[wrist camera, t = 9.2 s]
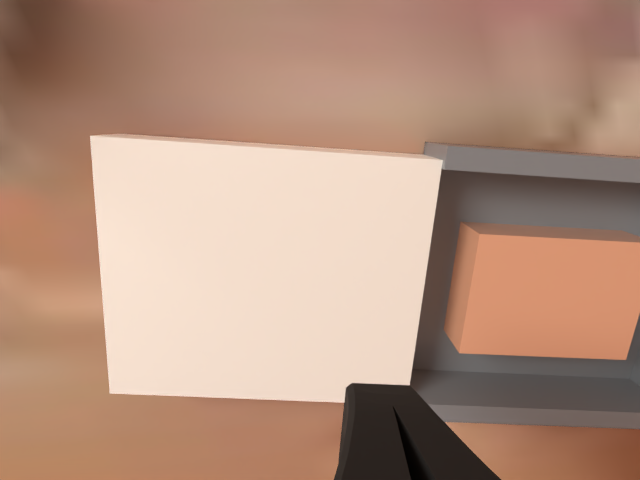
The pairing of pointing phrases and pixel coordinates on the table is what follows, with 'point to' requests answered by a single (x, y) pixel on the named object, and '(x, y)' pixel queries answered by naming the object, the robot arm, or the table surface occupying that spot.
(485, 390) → the tray
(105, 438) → the table surface
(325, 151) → the board
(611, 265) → the tile
